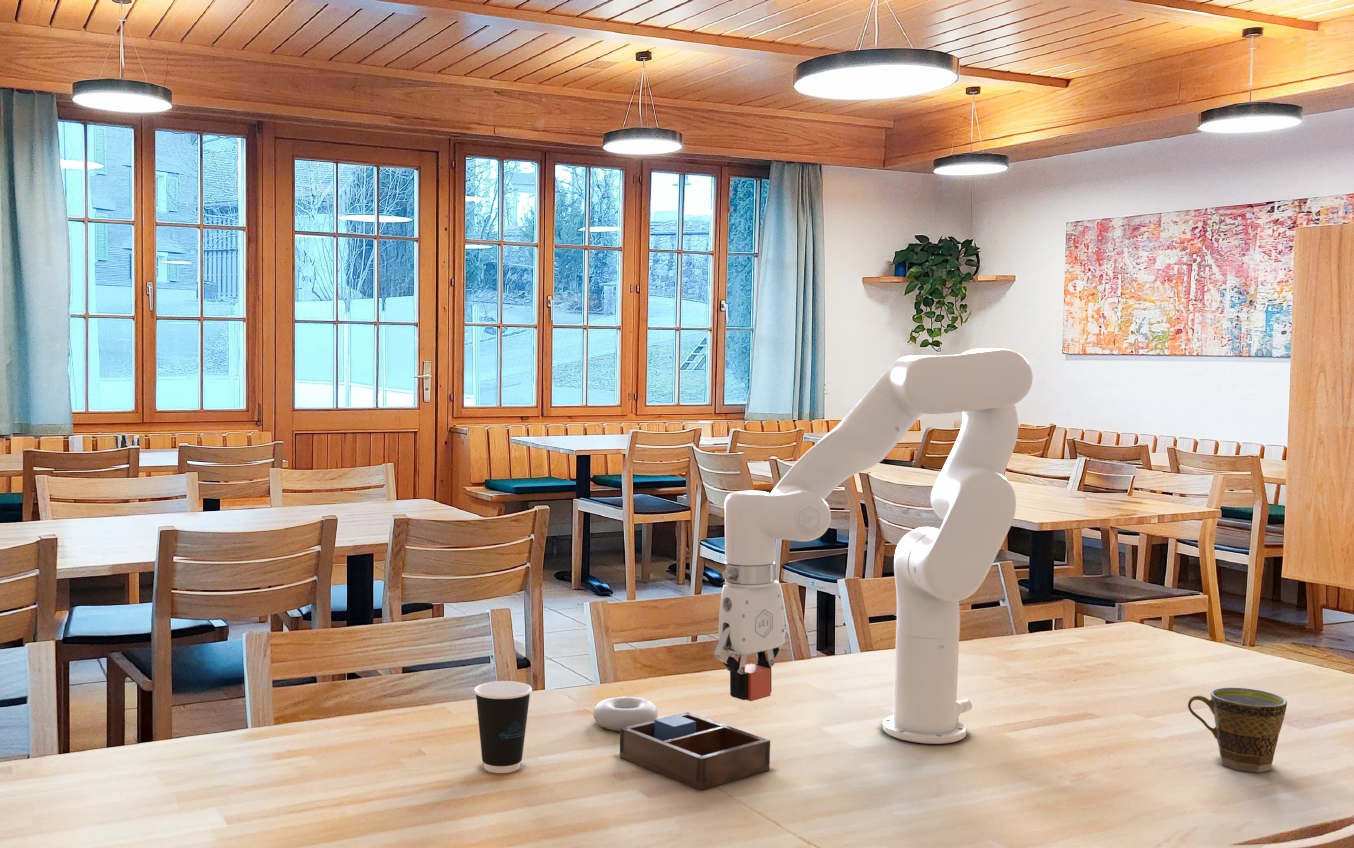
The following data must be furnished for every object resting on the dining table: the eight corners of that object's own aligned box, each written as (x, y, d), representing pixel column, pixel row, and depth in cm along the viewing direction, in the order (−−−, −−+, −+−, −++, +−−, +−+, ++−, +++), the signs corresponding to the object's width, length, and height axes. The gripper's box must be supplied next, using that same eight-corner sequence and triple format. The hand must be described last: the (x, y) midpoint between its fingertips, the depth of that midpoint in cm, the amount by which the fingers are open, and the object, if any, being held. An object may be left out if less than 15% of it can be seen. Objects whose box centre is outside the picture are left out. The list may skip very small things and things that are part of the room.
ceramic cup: (1278, 758, 182) (1282, 691, 182) (1288, 780, 173) (1291, 709, 172) (1183, 747, 187) (1186, 682, 186) (1187, 768, 177) (1190, 699, 177)
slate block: (675, 742, 180) (676, 714, 180) (695, 750, 177) (696, 721, 177) (653, 748, 177) (654, 719, 177) (673, 756, 174) (673, 726, 174)
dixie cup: (516, 779, 166) (517, 698, 165) (462, 772, 168) (463, 692, 168) (540, 761, 174) (541, 684, 173) (488, 755, 176) (489, 678, 175)
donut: (585, 732, 188) (650, 736, 186) (585, 709, 188) (650, 713, 186) (602, 713, 198) (664, 717, 196) (602, 692, 198) (664, 695, 196)
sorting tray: (687, 739, 185) (688, 711, 185) (769, 769, 172) (770, 740, 172) (619, 757, 176) (620, 727, 176) (700, 790, 164) (701, 758, 164)
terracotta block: (750, 690, 189) (750, 663, 189) (770, 695, 186) (770, 668, 186) (731, 695, 187) (730, 668, 186) (750, 701, 184) (750, 673, 183)
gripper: (727, 585, 177) (727, 711, 178) (807, 570, 188) (807, 689, 189) (691, 578, 183) (692, 700, 184) (771, 563, 194) (772, 679, 195)
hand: (750, 693), depth 186 cm, fingers closed on terracotta block, 4 cm apart
